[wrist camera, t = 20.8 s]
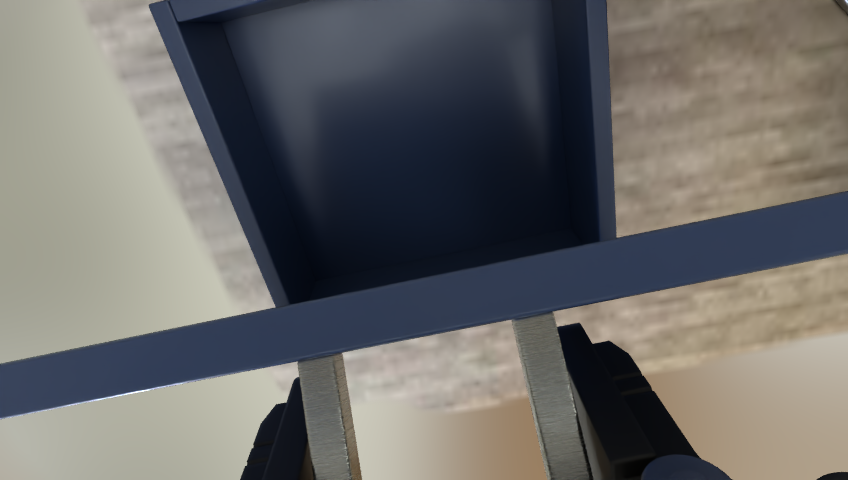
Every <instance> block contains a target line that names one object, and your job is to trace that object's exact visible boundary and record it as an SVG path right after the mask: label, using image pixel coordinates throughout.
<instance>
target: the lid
mask: <svg viewBox="0 0 848 480" xmlns="http://www.w3.org/2000/svg"><path fill="white" fill-rule="evenodd" d="M844 254H848V191H845V192H840V193H835V194H830V195H825V196H820V197H815V198H810V199H806V200H801V201H796V202H791V203H786V204H781V205H776V206H771V207H766V208H761V209H757V210H752V211H747V212H742V213H737V214H732V215H727V216H722V217H717V218H712V219H707V220H703V221H698V222H693V223H688V224H683V225H678V226H673V227H668V228H663V229H658V230H654V231H649V232H644V233H639V234H634V235H629V236H624V237H619V238H614V239H609V240H604V241H600V242H595V243H590V244H585V245H580V246H575V247H570V248H565V249H560V250H555V251H551V252H546V253H541V254H536V255H531V256H526V257H521V258H516V259H511V260H506V261H501V262H497V263H492V264H487V265H482V266H477V267H472V268H467V269H462V270H457V271H452V272H448V273H443V274H438V275H433V276H428V277H423V278H418V279H413V280H408V281H403V282H398V283H394V284H389V285H384V286H379V287H374V288H369V289H364V290H359V291H354V292H349V293H345V294H340V295H335V296H330V297H325V298H320V299H315V300H310V301H305V302H300V303H295V304H291V305H286V306H281V307H276V308H271V309H266V310H261V311H256V312H251V313H246V314H242V315H237V316H232V317H227V318H222V319H217V320H212V321H207V322H202V323H197V324H192V325H188V326H183V327H178V328H173V329H168V330H163V331H158V332H153V333H149V334H144V335H139V336H134V337H129V338H124V339H119V340H114V341H109V342H105V343H99V344H95V345H89V346H85V347H80V348H75V349H70V350H65V351H60V352H55V353H50V354H46V355H40V356H36V357H31V358H26V359H21V360H16V361H11V362H6V363H1V364H0V419H5V418H10V417H14V416H20V415H25V414H30V413H35V412H41V411H45V410H51V409H56V408H61V407H66V406H71V405H76V404H81V403H87V402H92V401H97V400H102V399H107V398H112V397H117V396H122V395H128V394H133V393H138V392H143V391H147V390H153V389H158V388H163V387H168V386H173V385H179V384H184V383H189V382H194V381H199V380H204V379H209V378H215V377H220V376H225V375H230V374H235V373H240V372H245V371H250V370H255V369H260V368H266V367H271V366H276V365H281V364H286V363H291V362H296V361H298V371H299V378H300V385H301V392H302V399H303V407H304V414H305V421H306V428H307V435H308V443H309V450H310V457H311V464H312V471H313V479H314V480H362V477H361V470H360V463H359V458H358V451H357V444H356V438H355V432H354V425H353V419H352V413H351V406H350V400H349V393H348V387H347V381H346V374H345V368H344V361H343V355H342V352H348V351H353V350H358V349H363V348H368V347H373V346H378V345H383V344H389V343H394V342H399V341H404V340H409V339H414V338H419V337H424V336H429V335H435V334H440V333H445V332H450V331H455V330H460V329H465V328H470V327H476V326H481V325H486V324H491V323H496V322H501V321H506V320H511V319H512V325H513V329H514V334H515V338H516V343H517V347H518V351H519V356H520V360H521V365H522V369H523V374H524V378H525V383H526V387H527V391H528V396H529V400H530V405H531V409H532V414H533V418H534V423H535V427H536V431H537V436H538V440H539V445H540V449H541V454H542V457H543V463H544V467H545V471H546V476H547V480H594V479H593V474H592V470H591V466H590V462H589V458H588V454H587V450H586V445H585V441H584V437H583V433H582V429H581V425H580V421H579V417H578V412H577V408H576V404H575V400H574V396H573V392H572V388H571V383H570V379H569V375H568V371H567V367H566V363H565V359H564V355H563V350H562V346H561V342H560V338H559V334H558V330H557V326H556V321H555V317H554V314H553V312H552V311H557V310H563V309H568V308H573V307H578V306H583V305H588V304H593V303H598V302H603V301H609V300H614V299H619V298H624V297H629V296H634V295H639V294H644V293H650V292H655V291H660V290H665V289H670V288H675V287H680V286H685V285H690V284H696V283H701V282H706V281H711V280H716V279H721V278H726V277H731V276H737V275H742V274H747V273H752V272H757V271H762V270H767V269H772V268H777V267H783V266H788V265H793V264H798V263H803V262H808V261H813V260H818V259H823V258H829V257H834V256H839V255H844Z"/></svg>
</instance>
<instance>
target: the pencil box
mask: <svg viewBox="0 0 848 480" xmlns="http://www.w3.org/2000/svg"><path fill="white" fill-rule="evenodd" d="M149 8H150V11H151V13H152V15H153V18H154V20H155V22H156V25H157V27H158V29H159V32H160V34H161V37H162V39H163V41H164V44H165V46H166V48H167V51H168V53H169V56H170V58H171V60H172V63H173V65H174V67H175V70H176V72H177V74H178V77H179V79H180V82H181V84H182V86H183V89H184V91H185V93H186V96H187V98H188V101H189V103H190V105H191V108H192V110H193V112H194V115H195V117H196V119H197V122H198V124H199V127H200V129H201V131H202V134H203V136H204V138H205V141H206V143H207V145H208V148H209V150H210V153H211V155H212V157H213V160H214V162H215V164H216V167H217V169H218V172H219V174H220V176H221V179H222V181H223V183H224V186H225V188H226V190H227V193H228V195H229V198H230V200H231V202H232V205H233V207H234V209H235V212H236V214H237V217H238V219H239V221H240V224H241V226H242V228H243V231H244V233H245V235H246V238H247V240H248V243H249V245H250V247H251V250H252V252H253V254H254V257H255V259H256V261H257V264H258V266H259V269H260V271H261V273H262V276H263V278H264V280H265V283H266V285H267V288H268V290H269V292H270V295H271V297H272V299H273V302H274V304H275V306H276V307H281V306H286V305H291V304H295V303H300V302H305V301H310V300H315V299H320V298H325V297H330V296H335V295H340V294H345V293H349V292H354V291H359V290H364V289H369V288H374V287H379V286H384V285H389V284H394V283H398V282H403V281H408V280H413V279H418V278H423V277H428V276H433V275H438V274H443V273H448V272H452V271H457V270H462V269H467V268H472V267H477V266H482V265H487V264H492V263H497V262H501V261H506V260H511V259H516V258H521V257H526V256H531V255H536V254H541V253H546V252H551V251H555V250H560V249H565V248H570V247H575V246H580V245H585V244H590V243H595V242H600V241H604V240H609V239H614V238H617V237H616V214H615V190H614V167H613V143H612V119H611V96H610V72H609V49H608V25H607V2H606V0H163V1H159V2H155V3H151V4H149Z"/></svg>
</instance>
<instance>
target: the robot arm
mask: <svg viewBox="0 0 848 480" xmlns="http://www.w3.org/2000/svg"><path fill="white" fill-rule="evenodd" d="M837 2H838V3H839V4H840V6H841V7H842V8H843V10H844V11H846V12H847V13H848V0H837ZM557 330H558V334H559V338H560V342H561V346H562V350H563V355H564V359H565V363H566V367H567V371H568V375H569V379H570V383H571V388H572V392H573V396H574V400H575V404H576V408H577V412H578V417H579V421H580V425H581V429H582V433H583V437H584V441H585V445H586V450H587V454H588V458H589V462H590V466H591V470H592V474H593V479H594V480H732V479H731V478H730V477H729V476H728V475H727V474H725V473H724V472H723V471H721V470H720V469H719V468H718V467H716V466H714V465H713V464H711V463H709V462H707V461H704V460H702V459H701V458H700V457H699V456H698V455H697V453H696V452H695V451H694V450H693V448H692V447H691V445H690V444H689V442H688V441H687V439H686V438H685V436H684V435H683V433H682V432H681V430H680V429H679V428H678V426H677V424H676V423H675V421H674V420H673V418H672V417H671V415H670V414H669V413H668V411H667V410H666V408H665V407H664V405H663V404H662V402H661V401H660V399H659V398H658V396H657V395H656V393H655V392H654V391H652V388H651V386H650V384H649V383H648V382H647V380H646V378H645V377H644V376H642V374H641V371H640V370H639V368H638V367H637V365H636V364H635V362H634V361H633V359H632V358H631V356H630V355H629V354H628V353H627V352H625V351H624V350H622V349H621V348H619V347H618V346H616V345H615V344H613V343H612V342H610V341H606V342H600V343H595V344H592V342H591V341H590V339H589V337H588V336H587V334H586V332H585V330H584V329H583V327H582V325H581V324H580V323H575V324H570V325H565V326H560V327H557ZM253 445H254V448H252V450H251V452H250V455H249V457H248V460H247V466H245V468H244V471H243V474H242V476H241V479H240V480H314V479H313V471H312V464H311V457H310V450H309V443H308V435H307V428H306V421H305V414H304V407H303V399H302V392H301V385H300V378H299V377H297V378H296V379H295V380H294V382H293V384H292V387H291V391H290V394H289V397H288V400H287V403H281V404H276V405H275V407H274V408H273V409H272V410H271V412H270V413H269V414H268V415H267V417H266V418H265V419H264V421H263V422H262V423H261V425H260V428H259V430H258V433H257V436H256V439H255V441H254V444H253ZM817 480H848V472H836V473H830V474H827V475H823V476H822V477H820V478H818V479H817Z"/></svg>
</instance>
